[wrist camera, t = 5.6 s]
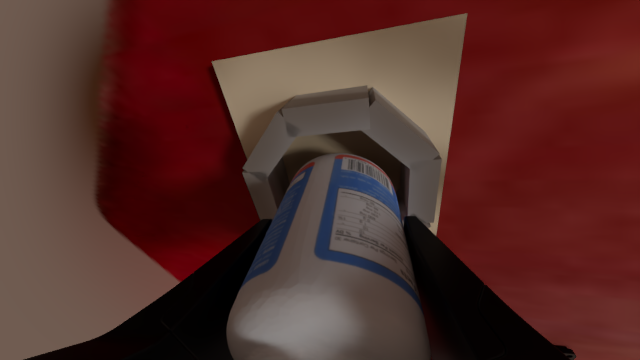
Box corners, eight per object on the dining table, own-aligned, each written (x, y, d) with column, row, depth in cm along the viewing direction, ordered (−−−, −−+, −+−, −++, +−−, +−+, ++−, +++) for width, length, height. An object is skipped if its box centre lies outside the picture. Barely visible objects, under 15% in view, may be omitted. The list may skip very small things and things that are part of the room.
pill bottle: (312, 239, 14) (239, 524, 6) (275, 164, 12) (59, 473, 3) (405, 227, 12) (486, 603, 4) (385, 135, 10) (486, 623, 2)
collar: (430, 239, 16) (445, 284, 13) (283, 239, 18) (268, 278, 15) (457, 15, 9) (501, 6, 6) (222, 59, 12) (176, 67, 9)
